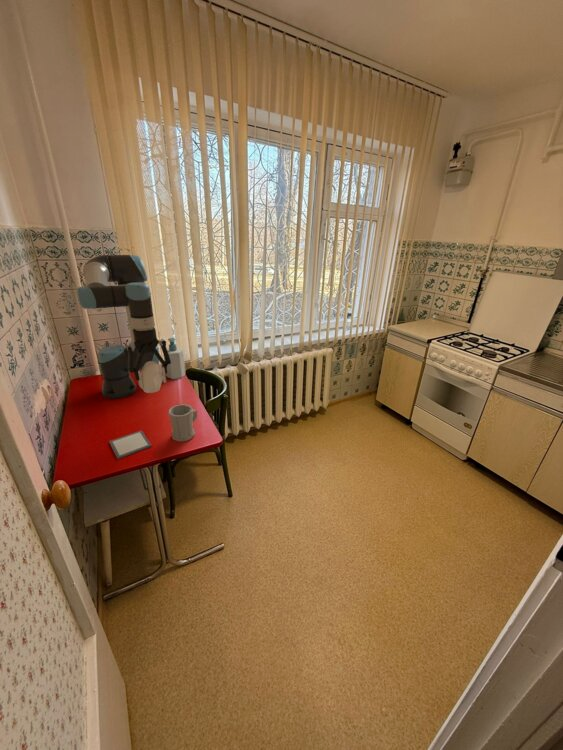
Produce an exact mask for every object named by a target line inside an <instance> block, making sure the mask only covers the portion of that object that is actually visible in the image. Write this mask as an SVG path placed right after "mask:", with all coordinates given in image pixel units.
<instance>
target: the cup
mask: <svg viewBox="0 0 563 750" xmlns="http://www.w3.org/2000/svg"><path fill="white" fill-rule="evenodd" d="M168 415H169V420H170V423H171V431H172V432H171V437H172V440H174V441H176V442H187V441H190V440H191V439H192V438H194V437H195V432H196V431H195V429H194V424H193V423H194V422H195V421H197V418H198V411H197V410H196V409H193V407H192V406H191V405H189V404H183V403H182V404H177V405H174V406H172V407H171V408H169V410H168Z"/></svg>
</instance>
